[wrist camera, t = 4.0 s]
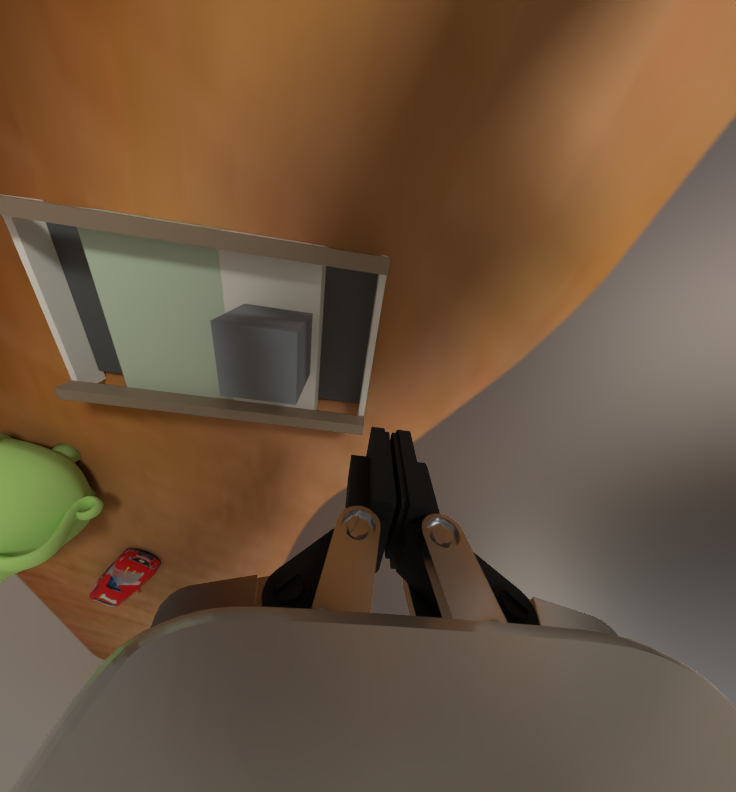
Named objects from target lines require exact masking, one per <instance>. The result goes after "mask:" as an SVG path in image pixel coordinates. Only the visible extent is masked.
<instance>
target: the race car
mask: <svg viewBox="0 0 736 792" xmlns="http://www.w3.org/2000/svg"><path fill="white" fill-rule="evenodd" d="M160 564H161V562H159V560H158V559H157V558H155V557H154V556H152V555H150V554H148V553H146V552H142V551H139V550H133V549H126V551H124V552H123V554H122V555H120V556H119V557H118V559H117V560H116V561H115V562H114V563H113V564H112V565H111V566H110V567H109V568H108V569H107V570H106V572H105V573H104V574H103V575H102V576H101V577H100V579H99V580H98V581H97V582H96V583H95V585H94V587H93V589H92V591H91V593H90V598H91V599H92V600H93V601H96V602H98V603H101V604H104V605H107V606H114V607H115V606H118V605H120V604H121V603H123V602H124V601H125V600H127V599H128V598H129V597H130V596H131V595H132V594H133V593H135V592H136V591H137V592H141V589H139V588H140V587H141V586H142V585H144V584H145V583H146V582H147V581H148V580H149V579H150V578H151V577H152V576H153V575H154V574H155V572H156V571H157V569H158V567H159V566H160Z"/></svg>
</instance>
